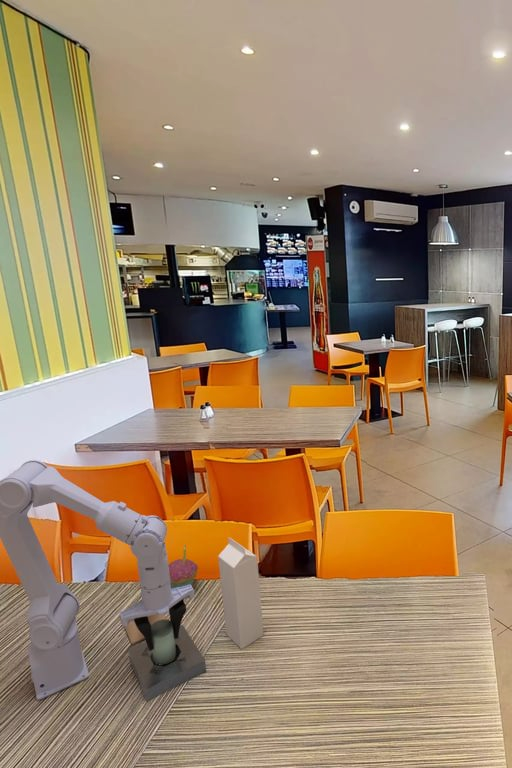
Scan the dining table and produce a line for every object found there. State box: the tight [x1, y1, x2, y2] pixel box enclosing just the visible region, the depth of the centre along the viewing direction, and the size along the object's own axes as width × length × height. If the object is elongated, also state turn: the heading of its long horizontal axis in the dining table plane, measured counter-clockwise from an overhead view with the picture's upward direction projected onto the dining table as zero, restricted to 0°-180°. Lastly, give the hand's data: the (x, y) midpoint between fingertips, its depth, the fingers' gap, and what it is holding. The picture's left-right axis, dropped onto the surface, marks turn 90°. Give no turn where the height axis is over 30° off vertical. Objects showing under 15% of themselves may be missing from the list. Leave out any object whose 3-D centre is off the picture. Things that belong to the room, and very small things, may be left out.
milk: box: [217, 537, 264, 650], centre depth 95 cm, size 6×6×22 cm
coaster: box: [123, 614, 169, 647], centre depth 103 cm, size 9×9×1 cm
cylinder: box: [151, 618, 177, 666], centre depth 90 cm, size 5×5×6 cm
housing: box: [127, 624, 207, 702], centre depth 91 cm, size 12×12×2 cm
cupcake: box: [168, 544, 199, 588], centre depth 114 cm, size 9×8×12 cm
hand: (162, 641), depth 90 cm, fingers closed on cylinder, 5 cm apart
